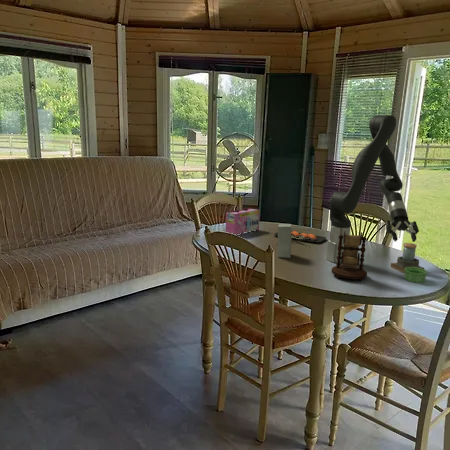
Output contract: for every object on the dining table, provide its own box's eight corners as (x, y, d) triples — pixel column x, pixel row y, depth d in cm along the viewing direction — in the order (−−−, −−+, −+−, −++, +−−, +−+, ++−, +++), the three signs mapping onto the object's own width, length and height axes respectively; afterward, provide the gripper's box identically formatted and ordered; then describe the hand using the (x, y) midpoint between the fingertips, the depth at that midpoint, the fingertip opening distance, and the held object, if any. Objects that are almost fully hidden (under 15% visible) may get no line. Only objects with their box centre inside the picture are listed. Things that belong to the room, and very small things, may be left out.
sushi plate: (327, 240, 239) (328, 234, 238) (308, 252, 214) (309, 244, 213) (282, 233, 254) (282, 227, 253) (259, 242, 229) (259, 236, 228)
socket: (406, 274, 181) (407, 263, 180) (390, 267, 190) (391, 257, 189) (423, 272, 185) (425, 261, 184) (407, 265, 194) (408, 255, 193)
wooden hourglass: (364, 272, 182) (369, 229, 178) (368, 284, 168) (373, 237, 164) (330, 269, 185) (334, 226, 181) (331, 280, 171) (335, 234, 167)
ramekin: (428, 279, 175) (430, 270, 174) (422, 285, 169) (423, 275, 168) (407, 274, 181) (408, 265, 180) (400, 279, 174) (401, 270, 174)
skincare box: (290, 258, 200) (292, 227, 196) (275, 257, 201) (277, 226, 198) (291, 253, 208) (293, 223, 204) (277, 252, 209) (279, 222, 206)
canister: (407, 267, 184) (409, 246, 182) (398, 264, 189) (400, 243, 187) (416, 266, 186) (419, 245, 184) (407, 263, 191) (410, 242, 188)
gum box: (251, 228, 262) (251, 207, 259) (260, 230, 257) (261, 209, 254) (225, 234, 246) (225, 211, 243) (234, 236, 240) (235, 213, 237)
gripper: (386, 207, 195) (393, 236, 186) (415, 208, 195) (424, 237, 187) (380, 215, 201) (387, 244, 193) (409, 216, 202) (417, 245, 193)
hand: (405, 240), depth 190 cm, fingers open, 8 cm apart
